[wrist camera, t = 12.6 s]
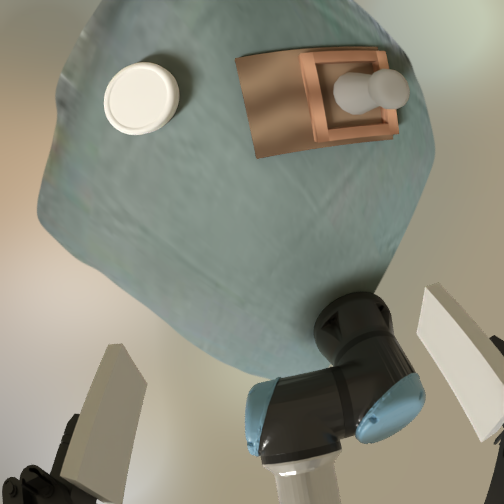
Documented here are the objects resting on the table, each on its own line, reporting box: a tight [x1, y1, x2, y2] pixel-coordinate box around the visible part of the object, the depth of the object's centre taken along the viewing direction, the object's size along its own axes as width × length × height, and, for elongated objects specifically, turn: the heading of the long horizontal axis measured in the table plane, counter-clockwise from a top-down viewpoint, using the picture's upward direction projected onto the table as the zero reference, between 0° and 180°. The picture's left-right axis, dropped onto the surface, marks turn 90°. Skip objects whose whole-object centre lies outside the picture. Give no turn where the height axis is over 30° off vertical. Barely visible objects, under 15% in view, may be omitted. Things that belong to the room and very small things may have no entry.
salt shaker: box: [333, 69, 410, 115], centre depth 28 cm, size 6×6×13 cm
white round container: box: [104, 62, 179, 135], centre depth 33 cm, size 10×10×4 cm
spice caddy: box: [235, 47, 399, 159], centre depth 33 cm, size 14×20×4 cm
